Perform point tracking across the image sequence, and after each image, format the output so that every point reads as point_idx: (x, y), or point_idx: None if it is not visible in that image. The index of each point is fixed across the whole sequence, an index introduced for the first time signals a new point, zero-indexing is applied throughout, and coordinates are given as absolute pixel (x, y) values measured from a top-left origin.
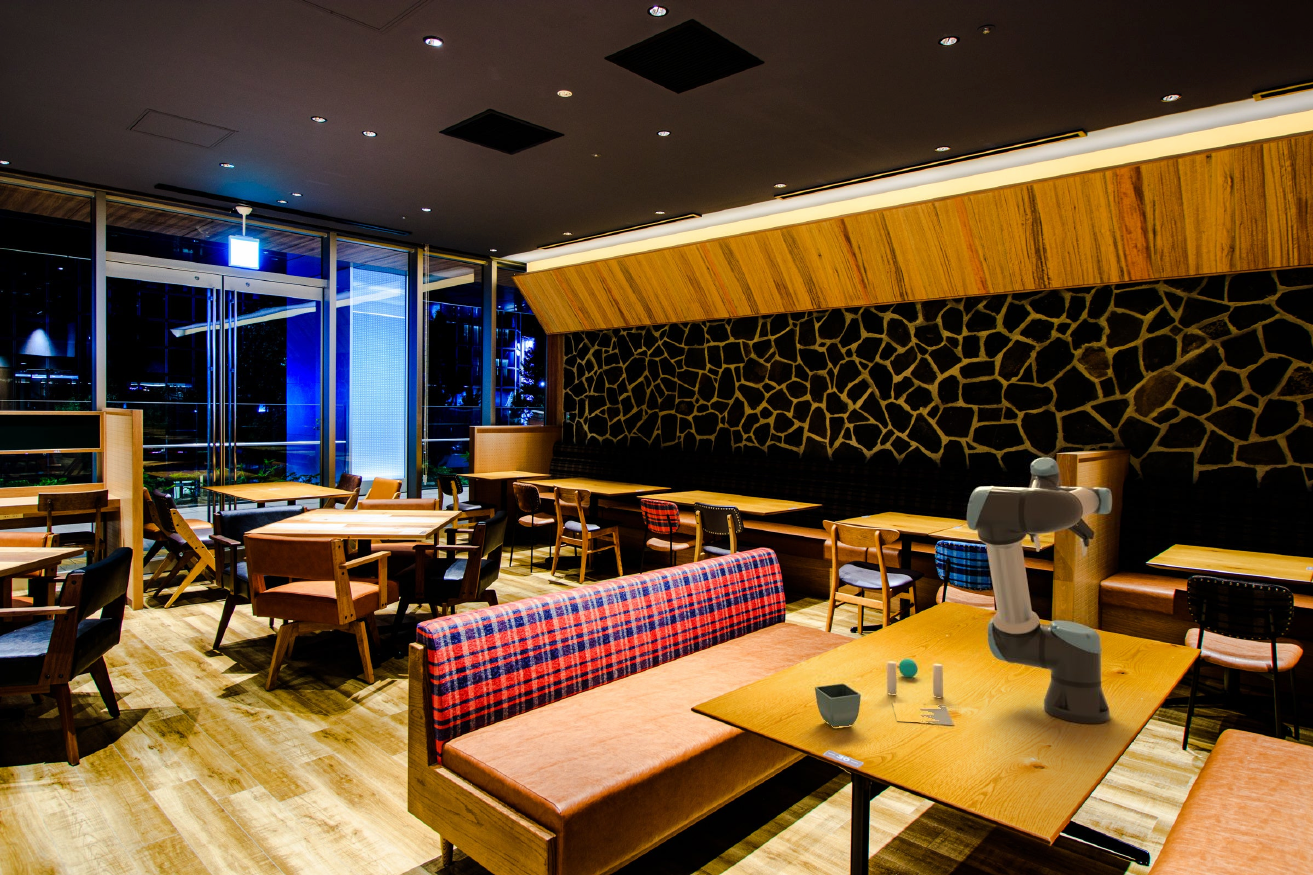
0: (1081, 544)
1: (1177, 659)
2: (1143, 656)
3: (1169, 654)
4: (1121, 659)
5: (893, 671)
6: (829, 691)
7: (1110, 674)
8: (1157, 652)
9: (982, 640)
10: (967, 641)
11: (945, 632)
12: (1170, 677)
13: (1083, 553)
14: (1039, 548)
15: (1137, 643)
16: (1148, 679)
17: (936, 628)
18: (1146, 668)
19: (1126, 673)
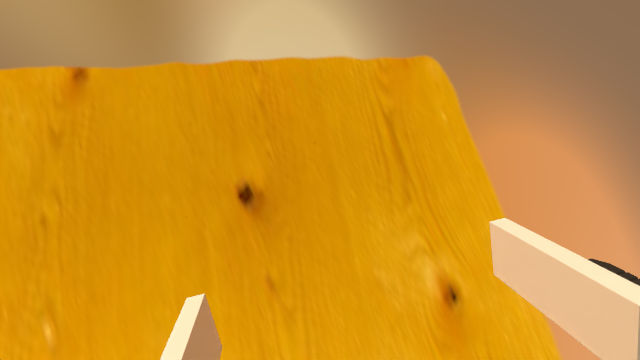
0: (587, 345)
1: (456, 124)
2: (413, 150)
3: (431, 104)
4: (401, 201)
5: None
6: None
7: (446, 329)
8: (413, 107)
9: (136, 301)
10: (110, 343)
11: (36, 309)
12: None
13: (510, 283)
14: (213, 332)
15: (364, 79)
16: (504, 298)
17: (5, 292)
18: (459, 224)
19: (459, 292)
